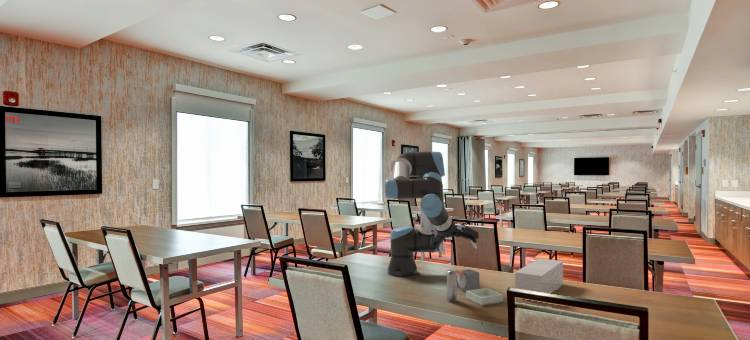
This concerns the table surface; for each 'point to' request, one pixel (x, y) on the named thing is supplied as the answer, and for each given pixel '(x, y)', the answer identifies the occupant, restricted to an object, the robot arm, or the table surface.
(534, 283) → the light grey block
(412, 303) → the table surface
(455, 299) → the stop pin
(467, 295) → the parts tray
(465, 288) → the crank housing
